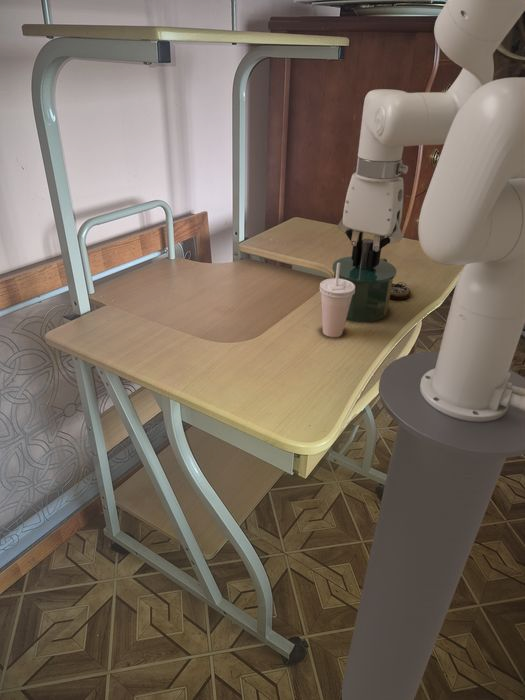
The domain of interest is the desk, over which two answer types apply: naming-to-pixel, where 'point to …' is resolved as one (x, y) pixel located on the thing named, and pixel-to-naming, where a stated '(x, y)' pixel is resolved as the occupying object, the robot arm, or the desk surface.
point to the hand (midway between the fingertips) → (364, 265)
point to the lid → (365, 267)
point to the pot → (369, 300)
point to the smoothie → (335, 303)
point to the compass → (399, 290)
